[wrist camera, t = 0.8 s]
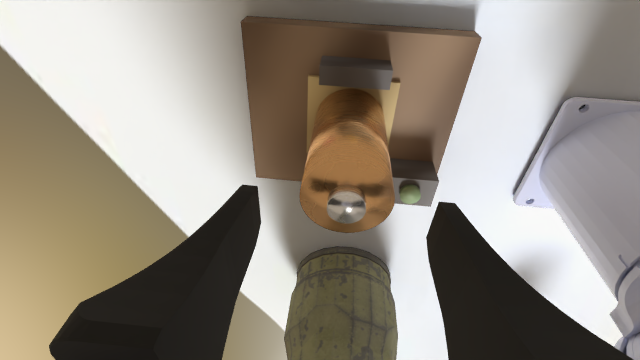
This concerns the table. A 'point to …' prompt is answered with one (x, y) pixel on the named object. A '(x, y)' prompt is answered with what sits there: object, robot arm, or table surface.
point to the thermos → (342, 308)
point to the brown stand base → (356, 73)
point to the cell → (348, 164)
